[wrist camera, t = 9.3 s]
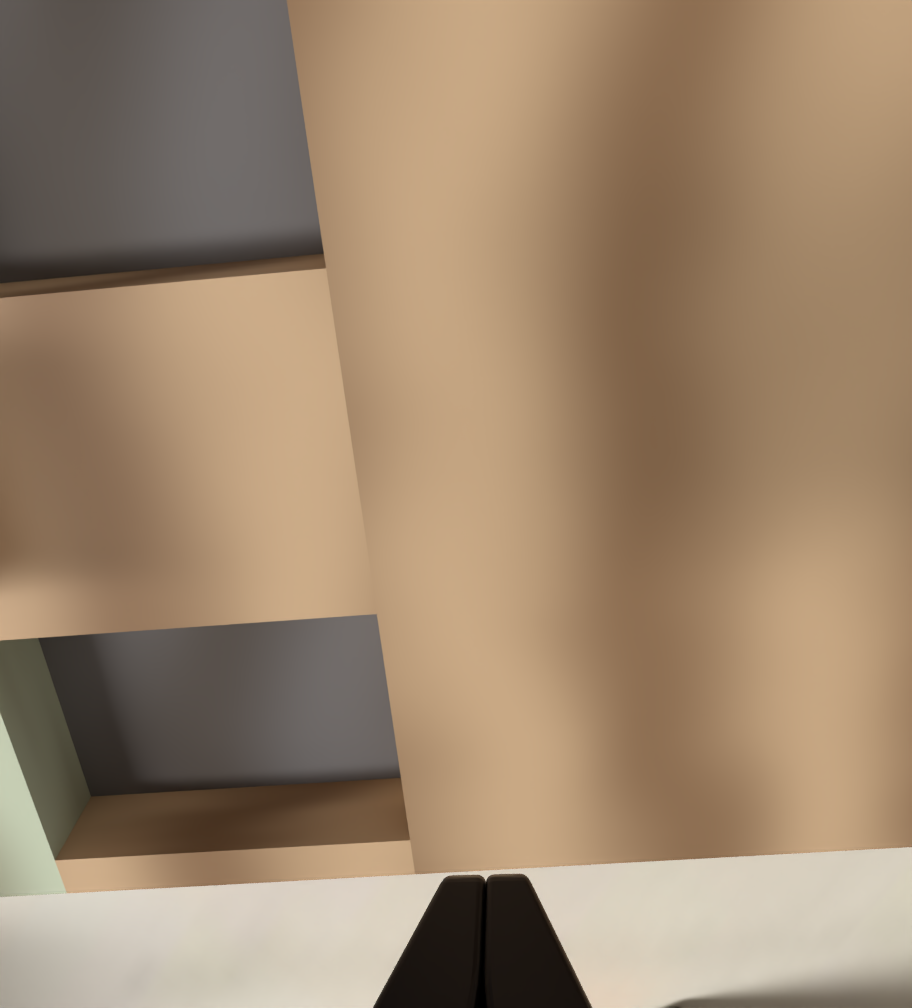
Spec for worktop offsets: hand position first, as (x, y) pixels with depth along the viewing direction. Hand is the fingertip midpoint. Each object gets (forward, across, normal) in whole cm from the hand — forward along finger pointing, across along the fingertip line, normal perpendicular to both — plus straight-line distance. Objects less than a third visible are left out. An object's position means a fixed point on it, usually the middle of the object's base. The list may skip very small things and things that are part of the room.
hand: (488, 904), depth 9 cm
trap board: (+10, +5, -2) cm, 12 cm away
